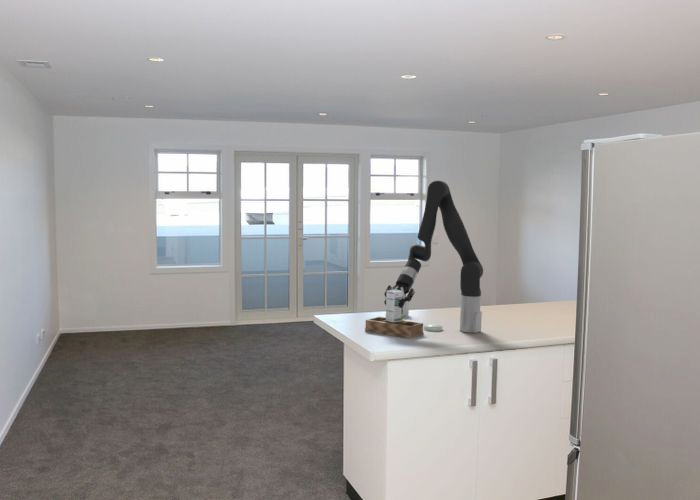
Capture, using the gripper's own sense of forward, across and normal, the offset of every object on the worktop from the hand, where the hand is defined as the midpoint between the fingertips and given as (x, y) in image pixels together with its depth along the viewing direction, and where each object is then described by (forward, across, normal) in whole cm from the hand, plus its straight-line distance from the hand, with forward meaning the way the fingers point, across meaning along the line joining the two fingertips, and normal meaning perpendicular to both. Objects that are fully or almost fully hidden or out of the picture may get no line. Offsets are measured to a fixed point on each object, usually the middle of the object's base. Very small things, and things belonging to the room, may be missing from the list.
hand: (392, 305), depth 312 cm
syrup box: (+4, 0, +6) cm, 8 cm away
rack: (+8, 0, +10) cm, 13 cm away
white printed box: (-22, -23, +41) cm, 52 cm away
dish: (-6, +10, +24) cm, 27 cm away
